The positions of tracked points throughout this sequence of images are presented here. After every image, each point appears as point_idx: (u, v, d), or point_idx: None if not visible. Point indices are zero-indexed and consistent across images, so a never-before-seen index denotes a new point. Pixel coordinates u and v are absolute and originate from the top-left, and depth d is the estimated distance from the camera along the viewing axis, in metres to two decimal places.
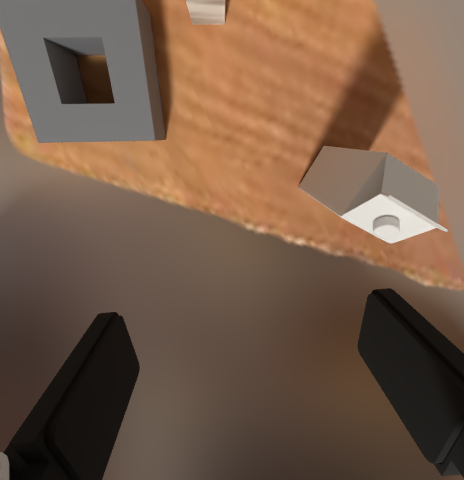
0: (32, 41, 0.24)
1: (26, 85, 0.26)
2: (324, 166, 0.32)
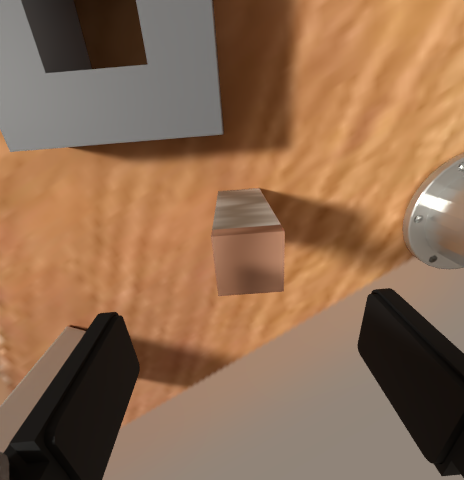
0: None
1: None
2: None
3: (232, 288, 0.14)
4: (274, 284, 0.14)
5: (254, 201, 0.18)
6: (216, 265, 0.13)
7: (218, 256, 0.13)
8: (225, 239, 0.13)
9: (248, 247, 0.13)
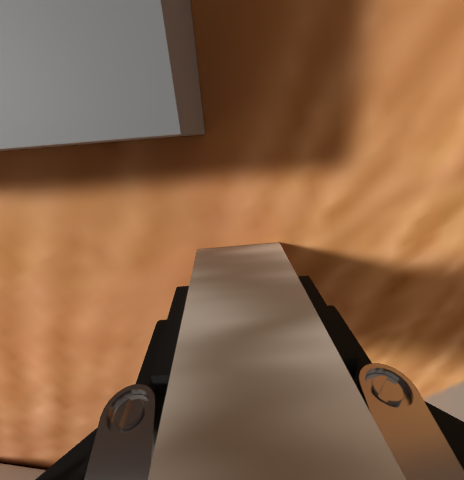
0: None
1: None
2: None
3: None
4: None
5: (283, 311, 0.07)
6: None
7: None
8: None
9: None
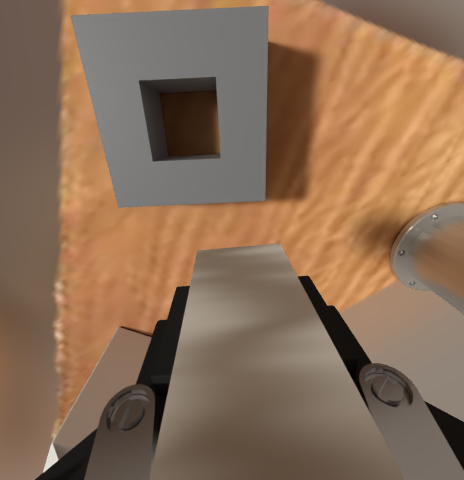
0: (210, 58, 0.18)
1: (154, 25, 0.17)
2: (135, 359, 0.33)
3: None
4: None
5: (284, 312, 0.07)
6: None
7: None
8: None
9: None
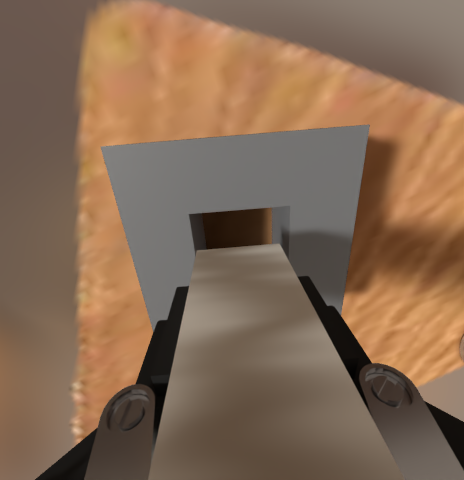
0: (285, 186, 0.13)
1: (213, 153, 0.12)
2: None
3: None
4: None
5: (283, 312, 0.07)
6: None
7: None
8: None
9: None
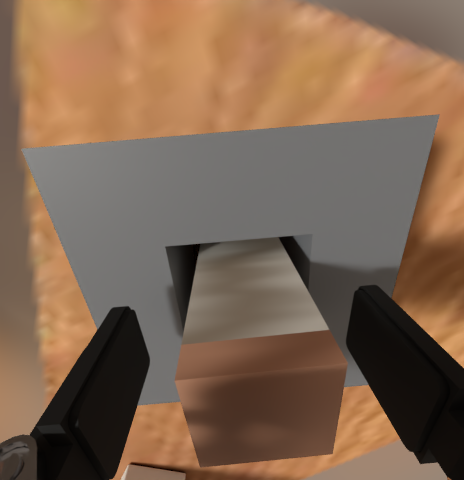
0: (306, 206, 0.09)
1: (199, 158, 0.08)
2: None
3: (228, 455, 0.07)
4: (314, 445, 0.07)
5: (262, 246, 0.11)
6: (191, 425, 0.06)
7: (195, 412, 0.06)
8: (208, 384, 0.05)
9: (262, 394, 0.06)
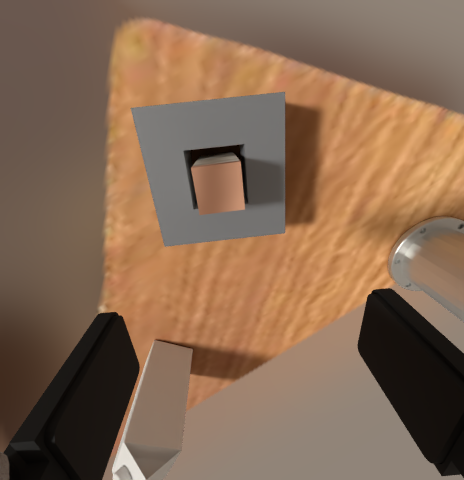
0: (240, 131, 0.22)
1: (196, 110, 0.21)
2: (173, 367, 0.37)
3: (208, 208, 0.20)
4: (237, 203, 0.20)
5: (226, 156, 0.24)
6: (196, 190, 0.19)
7: (197, 183, 0.19)
8: (200, 169, 0.19)
9: (217, 175, 0.19)
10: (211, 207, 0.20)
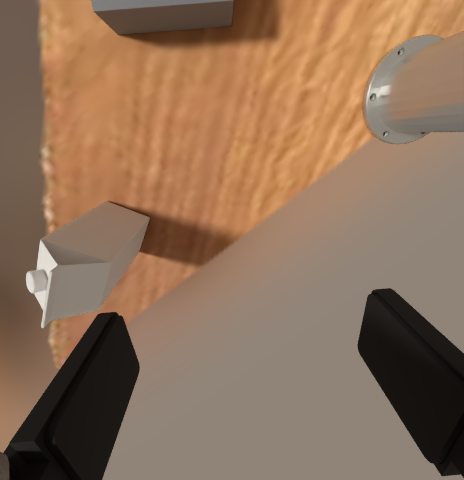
0: None
1: None
2: (122, 219, 0.34)
3: None
4: None
5: None
6: None
7: None
8: None
9: None
10: None
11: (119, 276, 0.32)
